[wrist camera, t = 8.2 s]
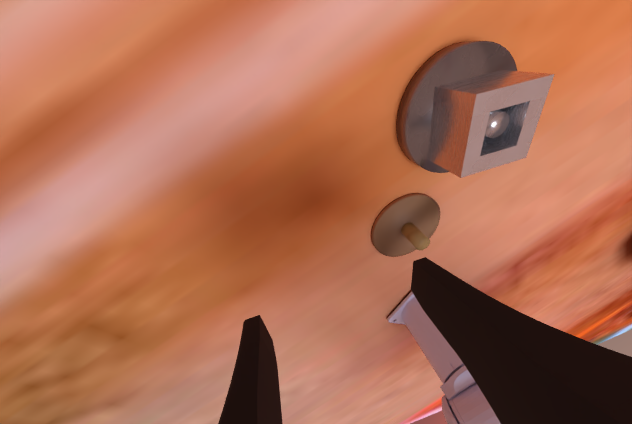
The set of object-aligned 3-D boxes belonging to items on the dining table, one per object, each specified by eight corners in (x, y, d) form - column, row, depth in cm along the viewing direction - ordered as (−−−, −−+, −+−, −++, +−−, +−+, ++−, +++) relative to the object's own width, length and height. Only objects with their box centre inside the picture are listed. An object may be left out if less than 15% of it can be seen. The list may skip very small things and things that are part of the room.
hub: (519, 85, 20) (582, 93, 17) (444, 180, 23) (483, 204, 20) (455, 10, 16) (521, -2, 12) (374, 138, 19) (407, 159, 15)
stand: (450, 207, 25) (472, 224, 23) (406, 259, 28) (422, 279, 26) (402, 182, 22) (423, 198, 20) (357, 244, 25) (371, 265, 22)
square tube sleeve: (501, 69, 17) (554, 74, 15) (485, 142, 20) (526, 157, 18) (434, 86, 17) (476, 94, 14) (427, 159, 20) (460, 177, 17)
